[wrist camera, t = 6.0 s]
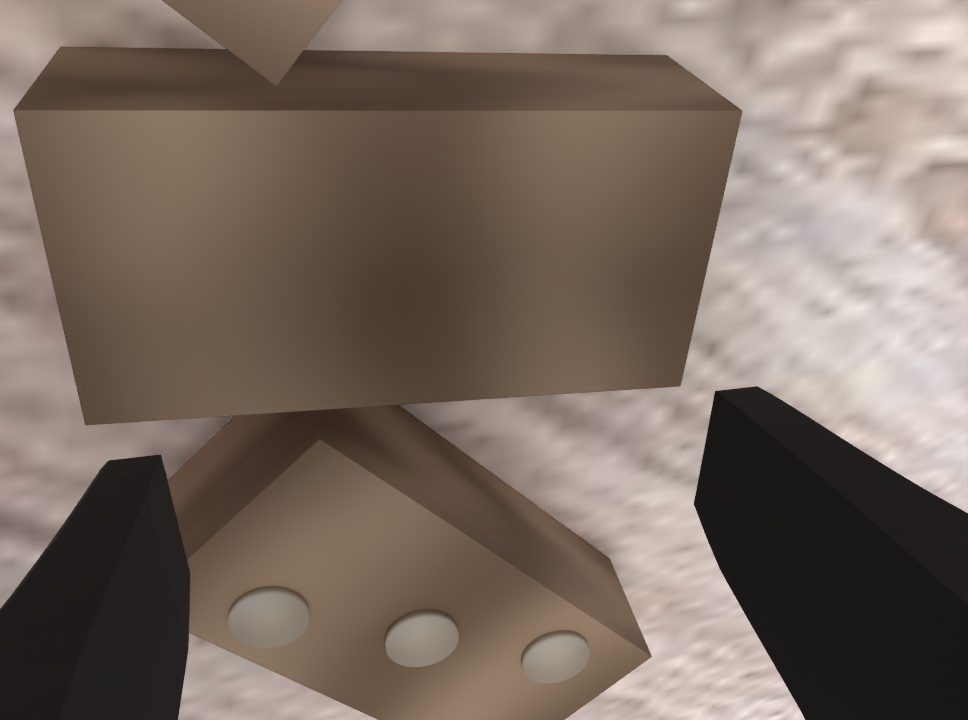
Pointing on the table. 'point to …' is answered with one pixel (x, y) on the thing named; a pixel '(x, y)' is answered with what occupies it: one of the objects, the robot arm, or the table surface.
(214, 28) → the pip block five
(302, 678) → the pip block three
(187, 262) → the plain block
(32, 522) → the table surface
